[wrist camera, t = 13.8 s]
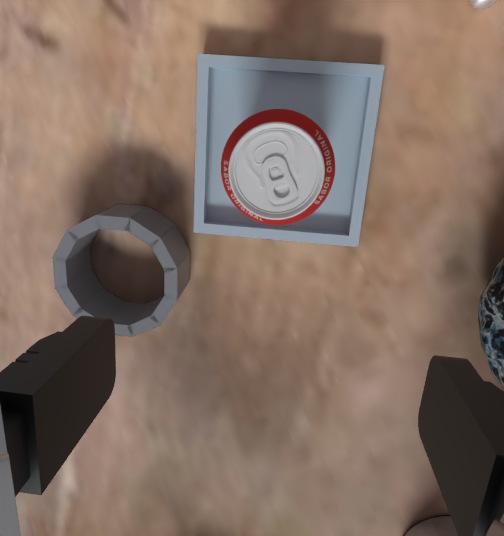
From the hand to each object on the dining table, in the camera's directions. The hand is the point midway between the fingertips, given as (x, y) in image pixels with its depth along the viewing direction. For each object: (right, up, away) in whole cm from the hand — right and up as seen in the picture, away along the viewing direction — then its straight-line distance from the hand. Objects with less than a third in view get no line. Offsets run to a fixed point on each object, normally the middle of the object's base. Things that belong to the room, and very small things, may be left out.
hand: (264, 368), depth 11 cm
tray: (+2, +12, +24) cm, 27 cm away
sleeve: (-10, +3, +28) cm, 30 cm away
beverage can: (+2, +11, +23) cm, 26 cm away
